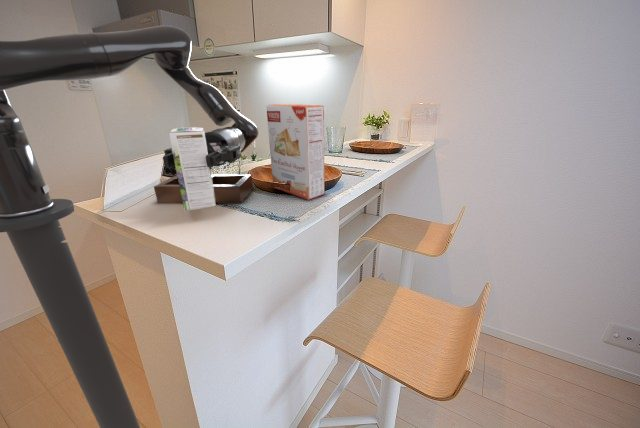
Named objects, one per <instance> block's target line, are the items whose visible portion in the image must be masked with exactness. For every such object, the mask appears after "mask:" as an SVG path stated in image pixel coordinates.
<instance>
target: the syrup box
mask: <svg viewBox="0 0 640 428" xmlns="http://www.w3.org/2000/svg"><path fill="white" fill-rule="evenodd" d="M205 133H206V132H205V129H204V128H203V127H198V126H197V127H196V126H188V127H186V126H184V127H175V128H172V129H170V131H169V132H168V137H169V143H170V148H172V153H173V157H174V162H175V166H174V168H175V172H176V175H177V177H178V181H179V186H180V191H181V196H182V200H183V203H182V205H183V209H184V211H193V210H200V209H206V208H213V207H216V206H217V203H216V202H215V194H214V188H213V181H212V175H213V174H212V169H211V167H207V162H206V155H208V151H207V145H206V138H205Z"/></svg>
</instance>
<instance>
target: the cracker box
mask: <svg viewBox="0 0 640 428" xmlns="http://www.w3.org/2000/svg"><path fill="white" fill-rule="evenodd" d="M265 107H266V118H267V130H268V143H269V152H270V153H269V154H270V165H271V179H272V183H273V182H278V183H285V184H290V191H289V190H286V189H283V188H280V187H273V186H272V188H273V189H276V190H279V191H281V192H285V193H287V194H289V195H293V196H296V197H298V198H302V199H305V200H308V201H310V200H312V199H315V198H318V197H321V196H324V195H325V194H326V193H325V191H326V189H325V187H326V186H325V183H326V182H325V108H324V107H325V106H324V105H321V104H320V105H319V104H303V103H278V104H277V103H273V104H267V105H266V106H265Z"/></svg>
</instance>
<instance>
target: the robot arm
mask: <svg viewBox="0 0 640 428" xmlns="http://www.w3.org/2000/svg"><path fill="white" fill-rule="evenodd" d="M192 46H193V45H192V38H191V36H190V35H189V33H187V32H186V31H185V30H183V29H182V28H179V27H177V26H173V25H166V24H164V25H154V26H148V27H143V28H138V29H131V30H121V31H108V32H107V31H106V32H80V33H76V32H75V33H65V34H57V35H56V34H55V35H48V36H42V37H37V38H33V39H25V40H0V218H2V219H9V218H19V217H25V216H30V215H34V214H38V213H41V212H44V211H47V210H49V209H51V208H53V207H54V203H53V201H52V200H51V199H52V197H51V195H50V191H51V189H50V186H49V184H48V183H47V184H46V182H45V179H44V177H43V174H42V171H41V168H40V166H39V164H38V161H37V159H36V156H35V154H34V151H33V149H32V146H31V144H30V142H29V138H28V136H27V134H26V131H25V129H24V126H23V123H22V121H21V119H20V117H19V116H18V115H17V112H16V111H15V110H14V108H13V106H12V104H11V101H10V99H9V97H8V94H7V93H6V90H9V89H13V88H17V87H22V86H26V85H31V84H34V83H41V82H50V81H51V82H52V81H54V82H55V81H56V82H57V81H60V82H61V81H67V82H68V81H69V82H71V81H72V82H73V81H87V80H96V79H103V78H109V77H114V76H117V75H120V74H122V73H124V72H125V71H127V70H128V69H130V68H131V67H132V66H133V65H135V64H136V63H138V62H139V61H141V60H142V59H144V58H146V57H148V56H149V57H150V56H152V57H153V60H154V62H155V63H156V65H157V66H158V67H159V68H160V69H161V70H162V71H163V72H164V73H165V74H166V75H167V76H169V78H171V79H172V80H173V81H174V82H175V83H176V84H177V85H178V86H179V87H180V88H181V89H182V90H184V91H185V92H186V93H187V94H188V95H189V96H190V97H192V99H193V100H195V102H196V103H197V105H199V106H200V108H201V109H202V110H203V112H204V113H205V114H206V115H207V116H208V117H209V118H210V120H211V121H212V122H213V124H215V125H216V126H217V127H221V128H216V129H213V130H210V131H206V132H204V133H205V138H206V145H207V151H208V155H206V162H207V167H210V168H213V167H220V166H223V165H225V164H226V163H228V164H232V163H234V162H236V161H238V160H240V159H241V158H242V154H243V153H244V152H245V151H246V150H247V149H248V148H249V147H250V146H251V145H252V144H253V143H254V142H255V141H256V140H257V139H258V136H259V128H258V127H257V125H256V124H255V123H254V122H253V121H251V120H250V119H249V118H247V117H246V116H244V115H243V114H241V113H240V112H239V111H238V110H237V109H235V107H234V106H233V105H232V104H231V103H230V102H229V100H228V99H227V98H226V96H224V94H222V92H221V91H220V90H219V89H218V88H217V87H215V86H213V85H211V84H209V83H207V82H205V81H203V80H201V79H198V78H197V77H196V76H195V75H194V74H193V72H192V71H191V69H190V68H189V62H190V58H191V53H192ZM232 122H234V123H233V124H232V125H231V126H226V125H228V124H230V123H232ZM224 126H226V127H224ZM222 127H223V128H222ZM163 152H164V155H163V156H162V161H163V165H164V166H165V167H166V168H172V167H175V162H174V157H173V153H172V148H171V147H169V148H167V149H164V150H163Z"/></svg>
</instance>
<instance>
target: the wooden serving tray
mask: <svg viewBox="0 0 640 428" xmlns="http://www.w3.org/2000/svg"><path fill="white" fill-rule="evenodd" d="M211 175H212V181H213V188H214V194H215V202H216V204H242V203H243V202H244V201H245V199H246V198H247V197H248V196H249V194H250V193H251V192H252V191H253V190H254V188H253V178H252V174H211ZM153 189H154V194H155V198H156V202H157V203H158V204H183V200H182V196H181V191H180V186H179V181H178V177H177V174H176V175H174V176H171V177H170V178H168V179H166V180H164V181H162V182H160V183H158V184H156V185H154V186H153Z"/></svg>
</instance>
